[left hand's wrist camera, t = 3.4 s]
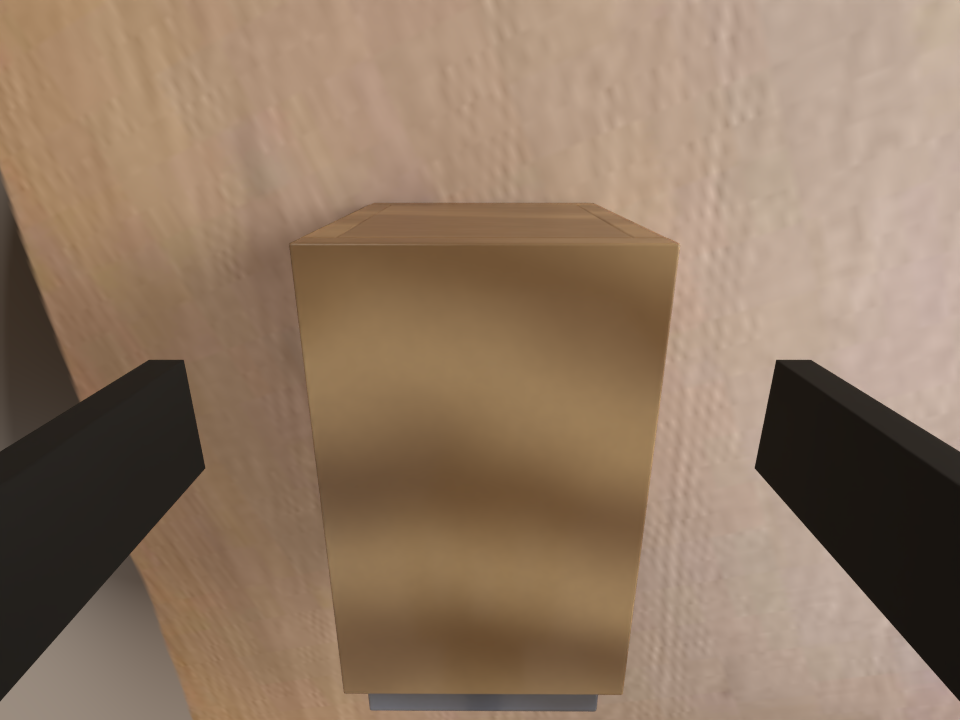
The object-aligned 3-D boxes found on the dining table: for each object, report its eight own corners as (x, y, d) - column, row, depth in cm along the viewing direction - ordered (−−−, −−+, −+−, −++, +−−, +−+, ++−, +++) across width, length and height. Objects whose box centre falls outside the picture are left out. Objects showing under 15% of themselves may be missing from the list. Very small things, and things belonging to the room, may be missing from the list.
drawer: (557, 628, 33) (586, 810, 24) (407, 627, 33) (379, 809, 24) (580, 282, 25) (634, 356, 16) (386, 282, 25) (333, 355, 16)
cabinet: (573, 503, 31) (623, 695, 20) (392, 502, 31) (343, 694, 20) (595, 202, 25) (681, 243, 14) (372, 202, 25) (287, 242, 14)
